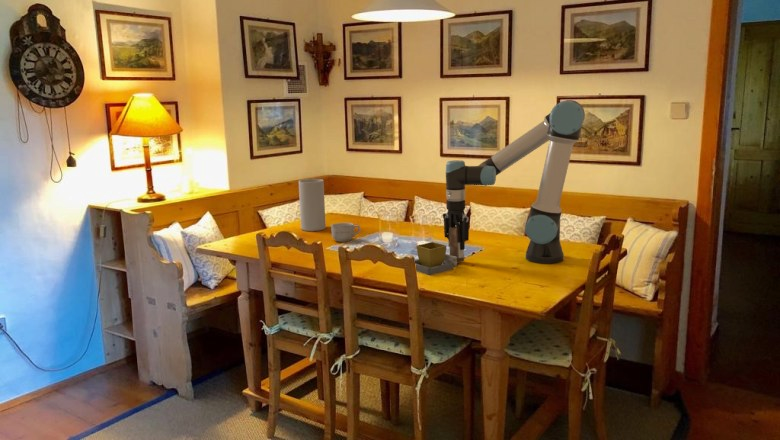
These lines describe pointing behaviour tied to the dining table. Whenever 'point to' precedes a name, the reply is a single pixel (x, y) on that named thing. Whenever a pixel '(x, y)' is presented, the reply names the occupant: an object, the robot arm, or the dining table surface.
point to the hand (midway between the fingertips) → (456, 256)
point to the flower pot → (431, 254)
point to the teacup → (344, 231)
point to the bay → (433, 268)
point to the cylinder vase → (312, 204)
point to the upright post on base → (453, 248)
